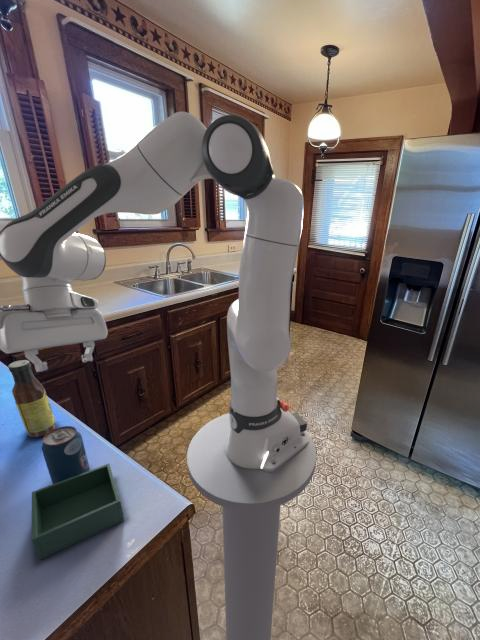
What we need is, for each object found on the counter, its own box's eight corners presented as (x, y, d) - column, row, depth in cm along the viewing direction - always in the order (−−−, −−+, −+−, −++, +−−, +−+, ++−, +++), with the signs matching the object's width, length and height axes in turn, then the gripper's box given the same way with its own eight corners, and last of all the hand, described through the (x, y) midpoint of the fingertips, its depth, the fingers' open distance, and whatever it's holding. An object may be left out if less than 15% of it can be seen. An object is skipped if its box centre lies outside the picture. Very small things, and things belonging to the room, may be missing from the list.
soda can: (96, 477, 69) (85, 434, 64) (60, 497, 64) (45, 452, 59) (83, 461, 73) (72, 419, 68) (48, 479, 68) (34, 435, 63)
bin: (113, 480, 68) (109, 463, 66) (124, 520, 60) (120, 501, 58) (38, 510, 61) (31, 492, 59) (39, 560, 53) (31, 540, 51)
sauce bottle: (62, 425, 84) (44, 360, 76) (40, 441, 78) (18, 371, 70) (42, 421, 85) (22, 355, 77) (20, 435, 79) (-4, 367, 71)
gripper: (-2, 302, 56) (16, 376, 57) (104, 299, 75) (117, 355, 75) (-17, 309, 59) (1, 379, 60) (89, 305, 77) (101, 359, 78)
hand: (66, 366), depth 68 cm, fingers open, 8 cm apart
